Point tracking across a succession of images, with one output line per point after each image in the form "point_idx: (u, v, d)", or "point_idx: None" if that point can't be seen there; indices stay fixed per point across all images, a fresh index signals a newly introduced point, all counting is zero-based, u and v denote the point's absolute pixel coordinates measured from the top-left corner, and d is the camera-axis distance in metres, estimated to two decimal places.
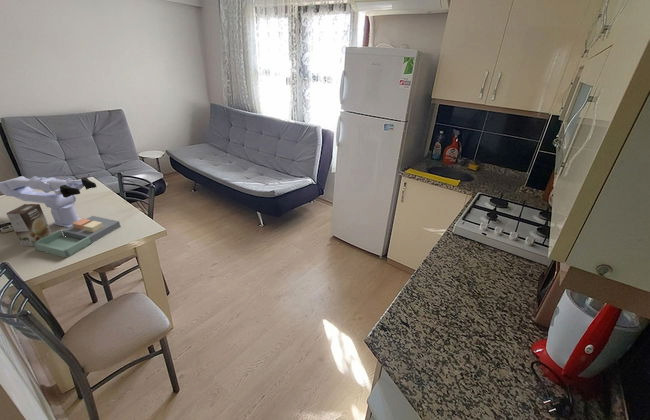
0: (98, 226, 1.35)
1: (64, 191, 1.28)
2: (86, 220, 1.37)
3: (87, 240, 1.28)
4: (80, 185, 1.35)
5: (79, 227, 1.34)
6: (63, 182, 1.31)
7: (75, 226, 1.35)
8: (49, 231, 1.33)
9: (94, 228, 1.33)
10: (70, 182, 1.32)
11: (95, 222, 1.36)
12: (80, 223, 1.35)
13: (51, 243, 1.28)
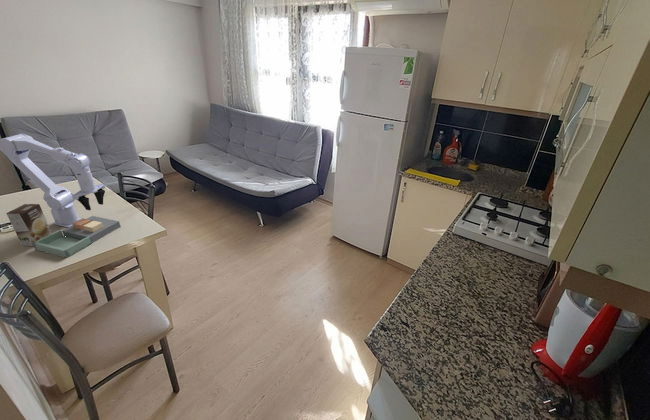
0: (98, 226, 1.35)
1: None
2: (86, 220, 1.37)
3: (87, 240, 1.28)
4: None
5: (79, 227, 1.34)
6: (89, 187, 1.34)
7: (75, 226, 1.35)
8: (49, 231, 1.33)
9: (94, 228, 1.33)
10: None
11: (95, 222, 1.36)
12: (80, 223, 1.35)
13: (51, 243, 1.28)
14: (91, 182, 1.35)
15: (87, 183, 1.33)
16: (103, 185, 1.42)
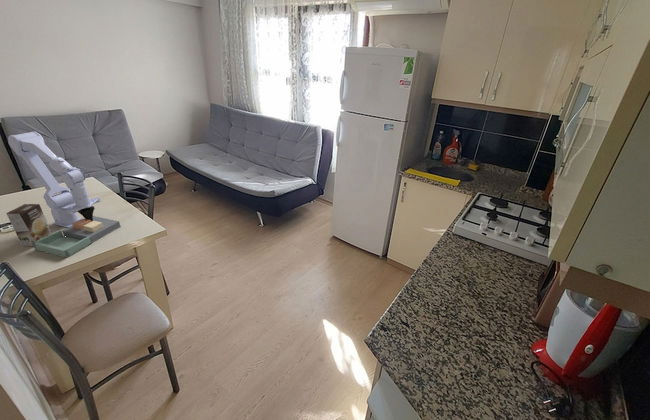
0: (98, 226, 1.35)
1: None
2: (86, 220, 1.37)
3: (87, 240, 1.28)
4: None
5: (79, 227, 1.34)
6: (84, 202, 1.33)
7: (75, 226, 1.35)
8: (49, 231, 1.33)
9: (94, 228, 1.33)
10: None
11: (95, 222, 1.36)
12: (80, 223, 1.35)
13: (51, 243, 1.28)
14: (86, 197, 1.33)
15: (82, 198, 1.32)
16: (98, 199, 1.41)
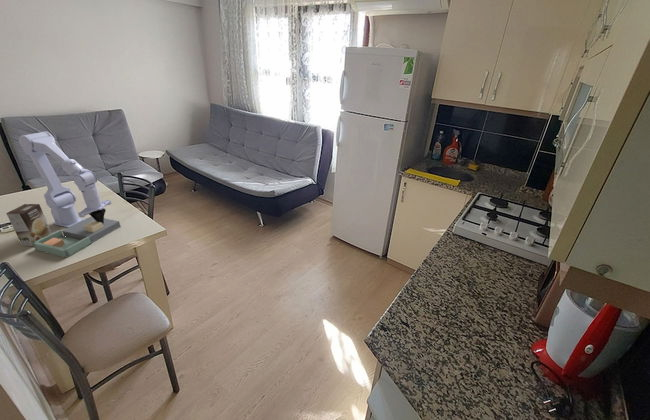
0: (98, 226, 1.35)
1: None
2: None
3: (87, 240, 1.28)
4: None
5: None
6: (95, 205, 1.32)
7: None
8: (49, 231, 1.33)
9: (94, 228, 1.33)
10: None
11: (95, 222, 1.36)
12: None
13: None
14: (97, 199, 1.32)
15: (93, 200, 1.31)
16: (109, 201, 1.40)
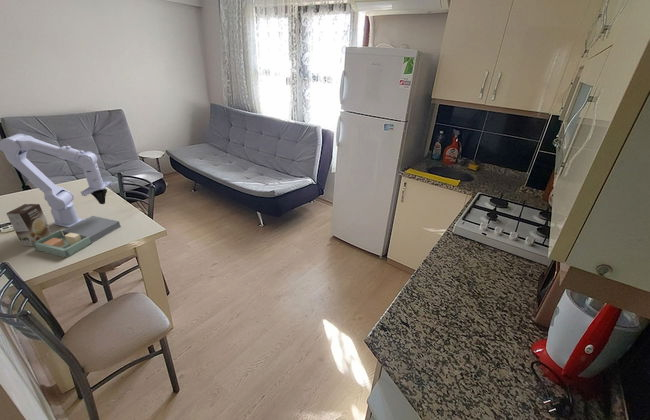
0: (77, 240, 1.27)
1: None
2: None
3: (87, 240, 1.28)
4: None
5: None
6: (97, 184, 1.38)
7: None
8: (49, 231, 1.33)
9: None
10: None
11: (69, 238, 1.26)
12: None
13: None
14: (99, 179, 1.38)
15: (95, 180, 1.37)
16: (110, 182, 1.46)
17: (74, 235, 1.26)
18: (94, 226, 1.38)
